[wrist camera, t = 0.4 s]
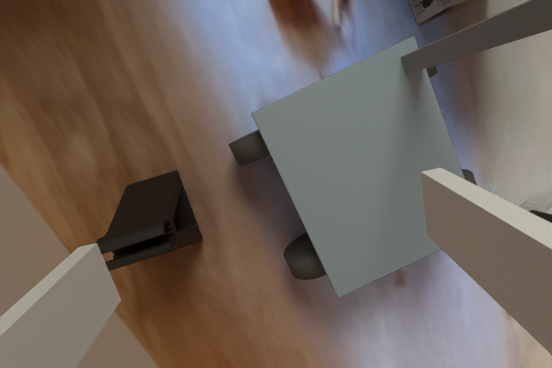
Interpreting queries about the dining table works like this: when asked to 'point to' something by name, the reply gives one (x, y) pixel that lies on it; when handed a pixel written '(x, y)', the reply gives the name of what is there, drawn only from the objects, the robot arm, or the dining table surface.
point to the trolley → (371, 152)
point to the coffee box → (434, 8)
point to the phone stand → (150, 221)
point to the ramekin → (539, 203)
